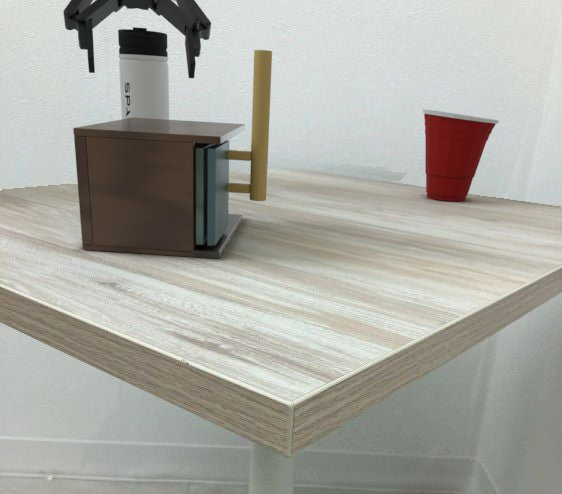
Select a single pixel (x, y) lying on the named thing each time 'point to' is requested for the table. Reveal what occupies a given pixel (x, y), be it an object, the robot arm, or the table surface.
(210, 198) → the glass door
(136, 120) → the brown wooden cabinet
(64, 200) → the table surface
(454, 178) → the plastic cup
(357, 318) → the table surface
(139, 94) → the travel mug
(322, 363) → the table surface
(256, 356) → the table surface
